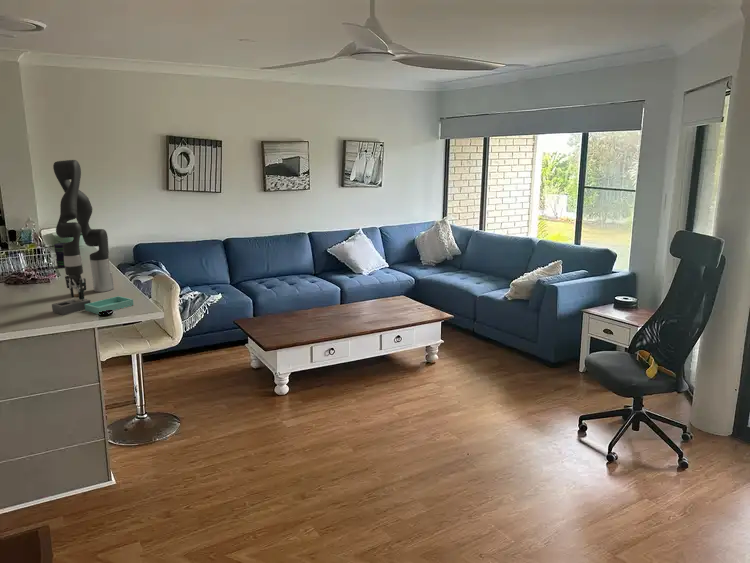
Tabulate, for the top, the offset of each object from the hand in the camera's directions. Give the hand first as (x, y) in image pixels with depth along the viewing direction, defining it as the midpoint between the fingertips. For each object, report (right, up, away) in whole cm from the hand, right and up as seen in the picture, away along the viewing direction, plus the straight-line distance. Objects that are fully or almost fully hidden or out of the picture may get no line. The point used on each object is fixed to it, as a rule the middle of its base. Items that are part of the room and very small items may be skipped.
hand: (77, 298), depth 290 cm
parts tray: (+15, -5, +1) cm, 16 cm away
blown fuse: (0, -4, +1) cm, 4 cm away
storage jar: (-57, +17, +98) cm, 115 cm away
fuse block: (-2, -6, -2) cm, 6 cm away
